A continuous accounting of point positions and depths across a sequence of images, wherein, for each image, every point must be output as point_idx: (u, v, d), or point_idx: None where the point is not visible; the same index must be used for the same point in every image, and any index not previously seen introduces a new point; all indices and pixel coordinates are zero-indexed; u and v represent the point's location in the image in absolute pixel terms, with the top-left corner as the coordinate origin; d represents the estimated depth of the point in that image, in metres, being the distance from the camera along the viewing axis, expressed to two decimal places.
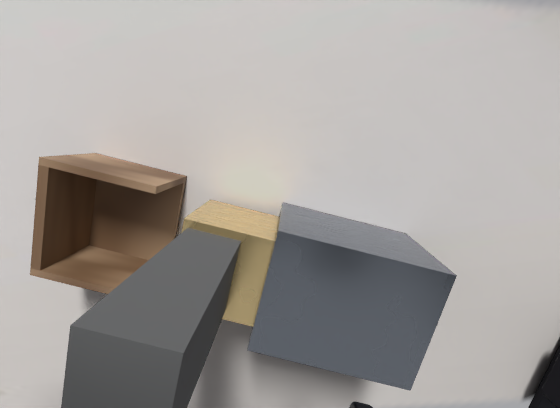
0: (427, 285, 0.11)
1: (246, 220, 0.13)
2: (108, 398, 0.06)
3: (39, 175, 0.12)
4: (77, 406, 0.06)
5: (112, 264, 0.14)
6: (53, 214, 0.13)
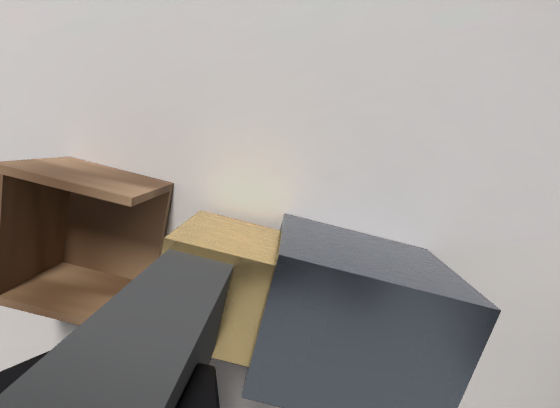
0: (464, 322, 0.09)
1: (241, 237, 0.11)
2: None
3: None
4: None
5: (86, 285, 0.12)
6: (12, 230, 0.11)
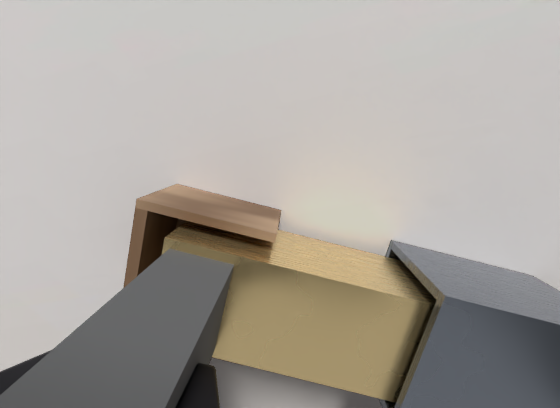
0: None
1: (241, 237, 0.11)
2: None
3: (136, 220, 0.10)
4: None
5: None
6: (145, 263, 0.11)
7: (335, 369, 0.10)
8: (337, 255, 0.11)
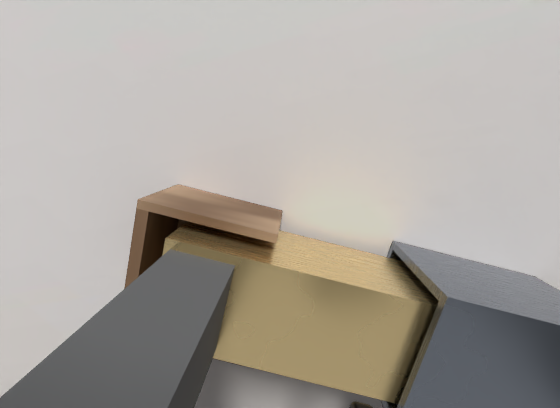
0: None
1: (242, 237, 0.11)
2: None
3: (137, 221, 0.10)
4: None
5: None
6: (146, 263, 0.11)
7: (336, 370, 0.10)
8: (338, 256, 0.11)
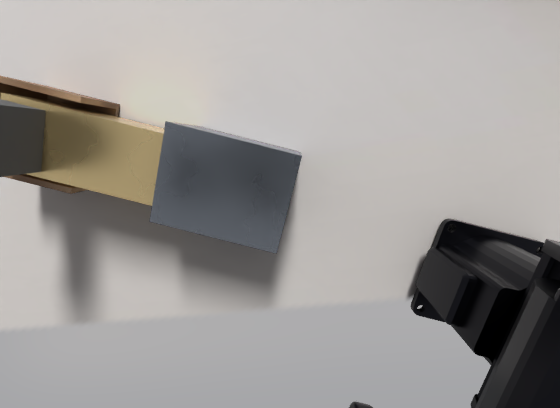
0: (280, 164, 0.14)
1: (69, 107, 0.16)
2: None
3: None
4: None
5: None
6: None
7: (118, 184, 0.15)
8: (140, 124, 0.17)
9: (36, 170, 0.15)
